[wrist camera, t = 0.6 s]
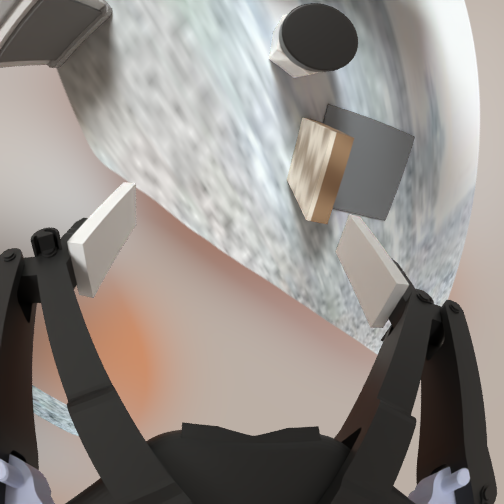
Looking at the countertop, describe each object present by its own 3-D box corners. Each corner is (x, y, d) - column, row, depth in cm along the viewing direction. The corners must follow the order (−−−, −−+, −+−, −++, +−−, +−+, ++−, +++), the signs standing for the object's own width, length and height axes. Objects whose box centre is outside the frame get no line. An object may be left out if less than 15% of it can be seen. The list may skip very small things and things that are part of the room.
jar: (321, 84, 34) (352, 83, 24) (265, 72, 33) (275, 65, 23) (330, 31, 29) (363, 13, 19) (274, 18, 28) (288, -8, 18)
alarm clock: (20, 17, 20) (-49, 15, 4) (71, -37, 16) (9, -62, 1) (57, 70, 28) (-23, 79, 13) (115, 12, 25) (46, -17, 10)
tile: (302, 117, 36) (332, 131, 25) (318, 121, 37) (354, 138, 25) (286, 179, 42) (306, 220, 30) (302, 182, 42) (327, 224, 30)
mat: (328, 104, 35) (328, 104, 35) (413, 136, 37) (414, 136, 37) (301, 201, 44) (302, 202, 43) (384, 219, 46) (385, 220, 46)
